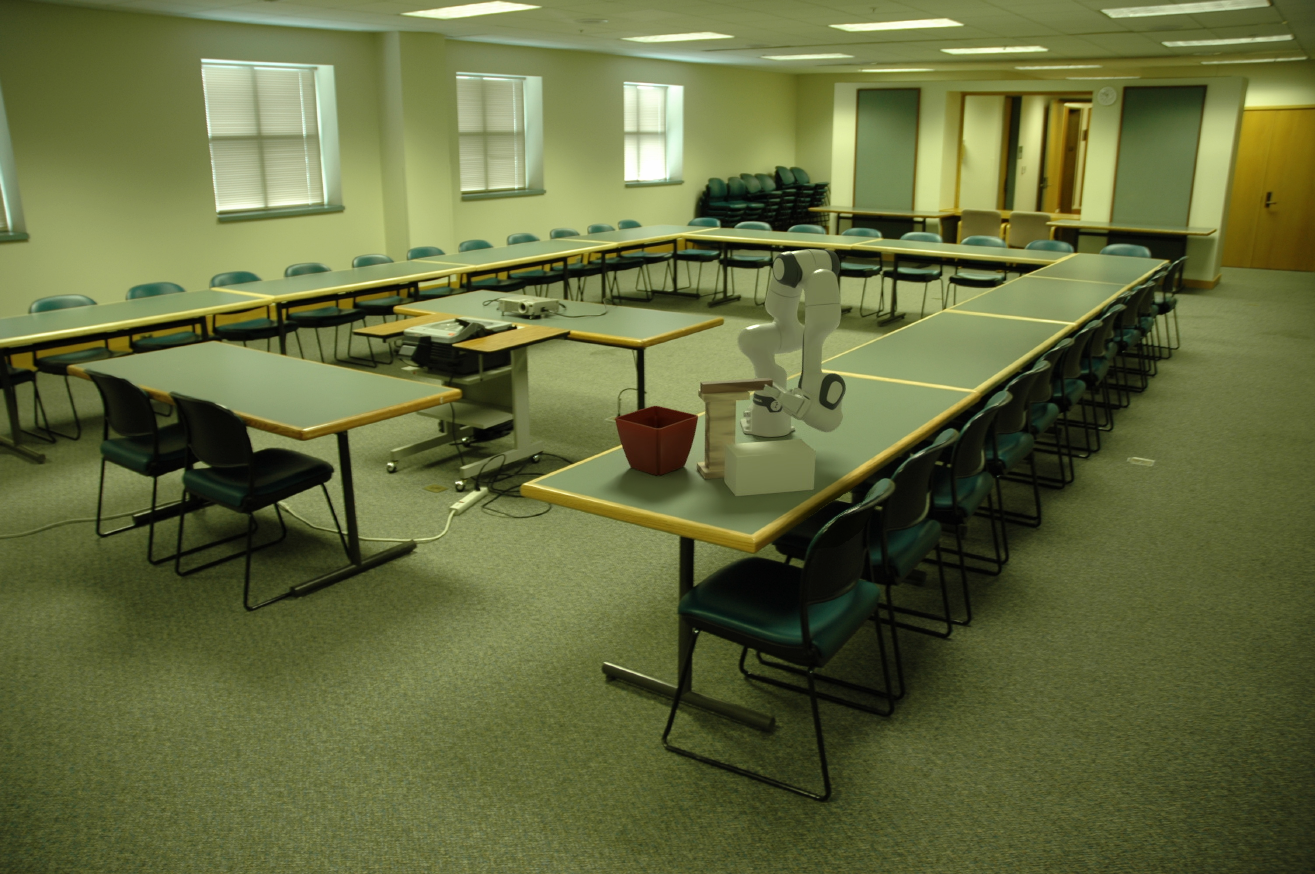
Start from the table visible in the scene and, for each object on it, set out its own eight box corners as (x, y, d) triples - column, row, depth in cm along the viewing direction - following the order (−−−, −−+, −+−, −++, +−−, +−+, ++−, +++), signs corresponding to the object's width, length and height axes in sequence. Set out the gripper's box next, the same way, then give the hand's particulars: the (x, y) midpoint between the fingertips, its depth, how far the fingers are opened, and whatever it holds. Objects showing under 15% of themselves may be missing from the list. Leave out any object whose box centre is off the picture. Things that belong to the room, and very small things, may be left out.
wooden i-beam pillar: (696, 468, 290) (697, 388, 282) (739, 464, 293) (741, 386, 285) (705, 479, 281) (705, 396, 273) (748, 475, 284) (750, 394, 276)
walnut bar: (700, 391, 279) (700, 381, 278) (769, 387, 284) (769, 377, 283) (702, 393, 276) (702, 384, 275) (772, 389, 281) (772, 380, 280)
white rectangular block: (724, 482, 278) (725, 444, 275) (799, 476, 283) (800, 438, 279) (735, 496, 267) (736, 457, 263) (813, 489, 272) (815, 451, 268)
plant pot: (614, 468, 291) (613, 417, 286) (655, 453, 305) (655, 404, 299) (658, 482, 279) (658, 429, 274) (699, 466, 292) (699, 415, 287)
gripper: (789, 385, 295) (754, 366, 290) (812, 402, 275) (775, 382, 271) (779, 402, 296) (744, 383, 291) (802, 420, 276) (764, 400, 272)
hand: (759, 383), depth 281 cm, fingers open, 8 cm apart
